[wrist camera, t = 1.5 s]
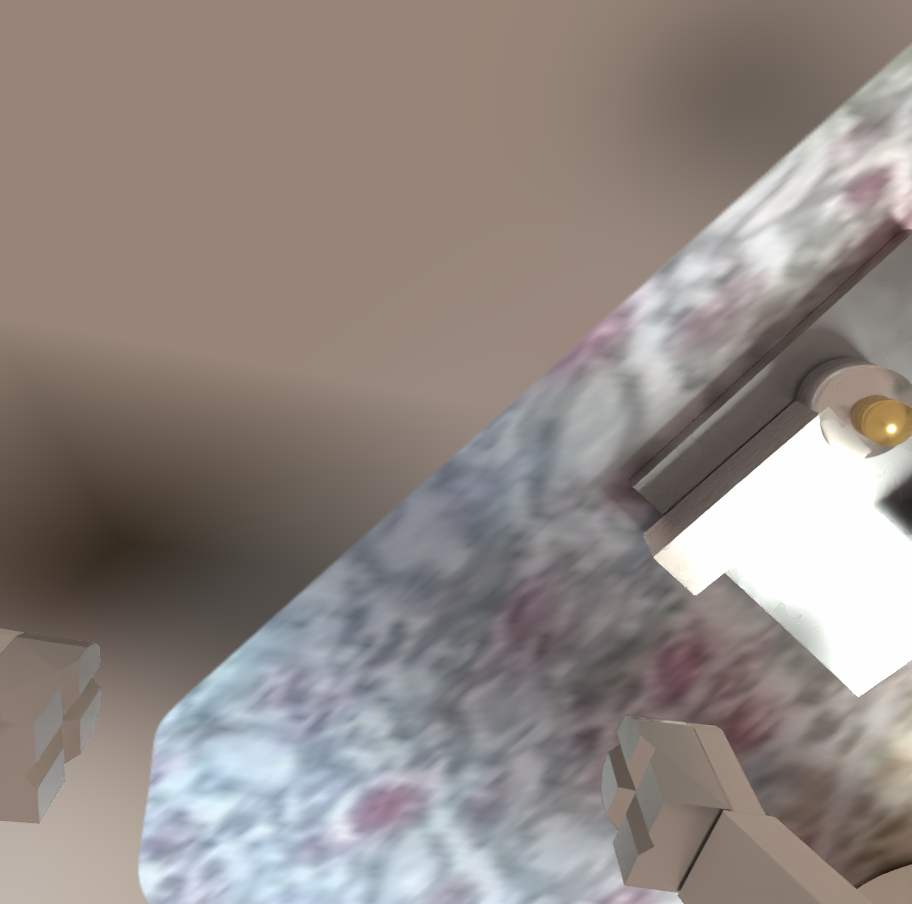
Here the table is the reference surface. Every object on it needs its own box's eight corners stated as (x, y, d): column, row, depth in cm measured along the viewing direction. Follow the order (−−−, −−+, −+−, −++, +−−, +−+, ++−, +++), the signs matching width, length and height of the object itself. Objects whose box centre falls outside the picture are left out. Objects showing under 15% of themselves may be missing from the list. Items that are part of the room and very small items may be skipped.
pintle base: (902, 229, 33) (987, 228, 27) (1129, 482, 35) (1251, 530, 30) (629, 479, 38) (651, 523, 32) (848, 684, 40) (905, 758, 35)
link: (847, 339, 33) (877, 347, 30) (904, 398, 34) (938, 412, 31) (634, 527, 37) (644, 550, 34) (689, 577, 38) (703, 603, 35)
